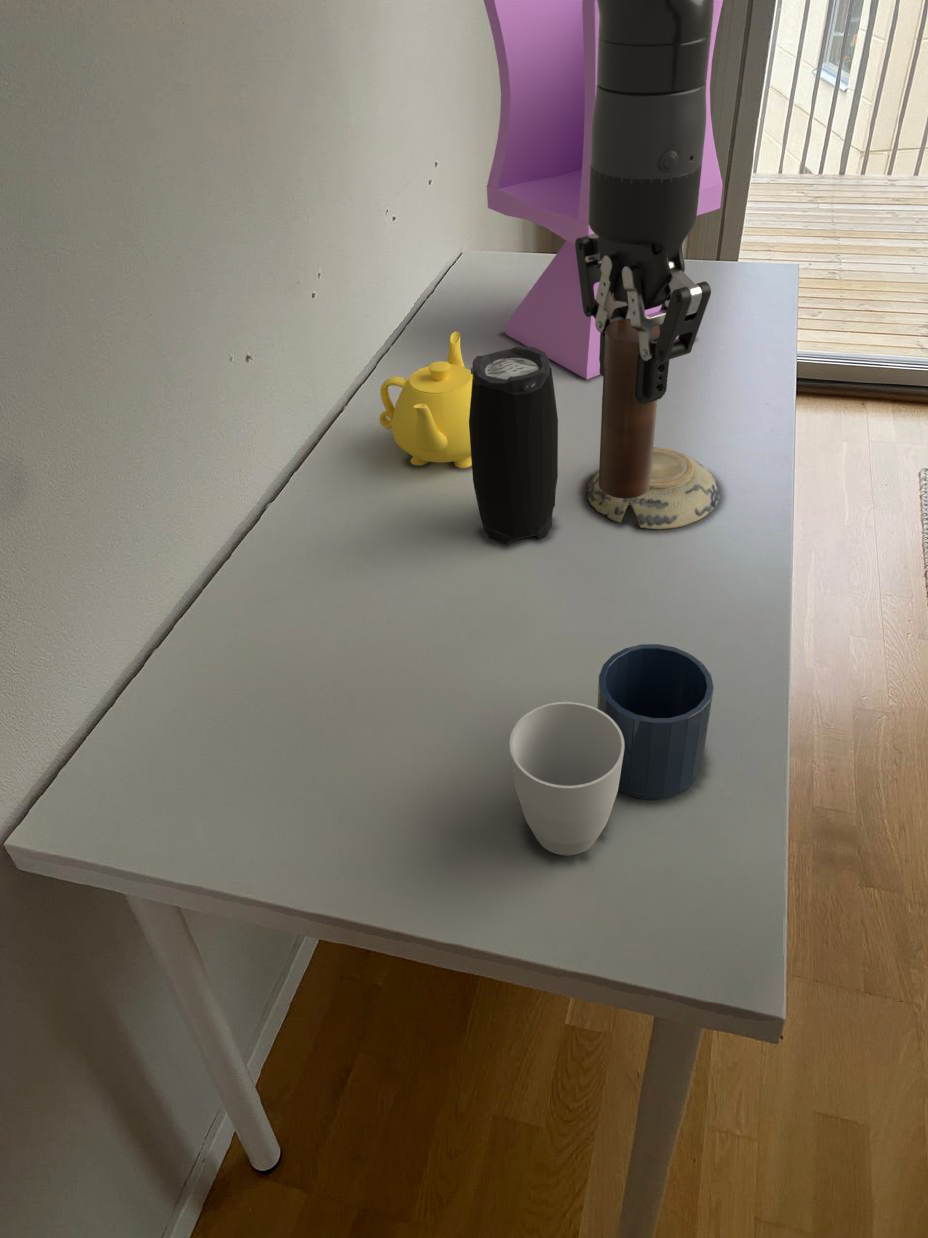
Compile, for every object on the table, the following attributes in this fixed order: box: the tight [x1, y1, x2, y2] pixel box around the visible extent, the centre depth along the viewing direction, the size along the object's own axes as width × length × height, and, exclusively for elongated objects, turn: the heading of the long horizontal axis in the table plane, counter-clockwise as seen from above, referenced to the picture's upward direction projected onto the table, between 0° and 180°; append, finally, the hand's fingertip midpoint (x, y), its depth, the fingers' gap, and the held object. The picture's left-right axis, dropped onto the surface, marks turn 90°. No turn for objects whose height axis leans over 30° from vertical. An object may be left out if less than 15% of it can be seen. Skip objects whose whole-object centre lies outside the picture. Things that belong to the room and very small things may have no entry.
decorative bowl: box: [585, 446, 720, 530], centre depth 107 cm, size 15×4×15 cm
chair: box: [483, 0, 724, 380], centre depth 126 cm, size 22×22×45 cm
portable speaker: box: [469, 345, 559, 545], centre depth 98 cm, size 9×9×20 cm
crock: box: [597, 643, 715, 801], centre depth 75 cm, size 9×9×9 cm
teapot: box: [379, 331, 473, 469], centre depth 114 cm, size 20×15×12 cm
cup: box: [509, 701, 624, 856], centre depth 70 cm, size 8×8×10 cm
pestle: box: [598, 318, 660, 498], centre depth 76 cm, size 4×4×14 cm
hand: (630, 385), depth 75 cm, fingers closed on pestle, 4 cm apart
